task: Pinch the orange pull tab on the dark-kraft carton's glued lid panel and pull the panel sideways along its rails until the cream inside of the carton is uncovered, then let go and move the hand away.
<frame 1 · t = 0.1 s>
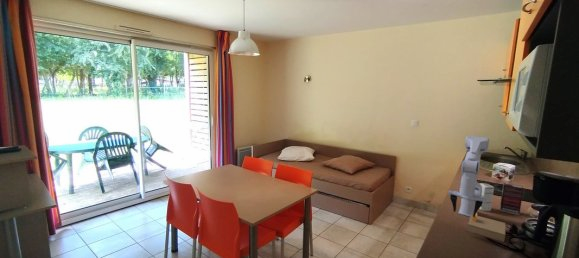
hand: (464, 213, 124), 10 cm above the kitchen counter, fingers open, 7 cm apart
supplement box: (508, 212, 151), on the kitchen counter
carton: (485, 230, 129), on the kitchen counter
syrup box: (482, 209, 154), on the kitchen counter
lid panel: (487, 221, 128), point 5 cm above the kitchen counter, slide at 0.0 cm
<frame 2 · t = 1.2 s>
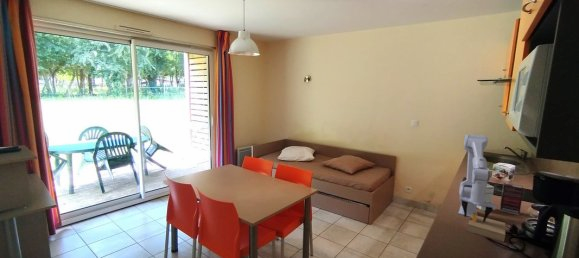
hand: (474, 218, 131), 4 cm above the kitchen counter, fingers open, 7 cm apart
nothing on the kitchen counter moved.
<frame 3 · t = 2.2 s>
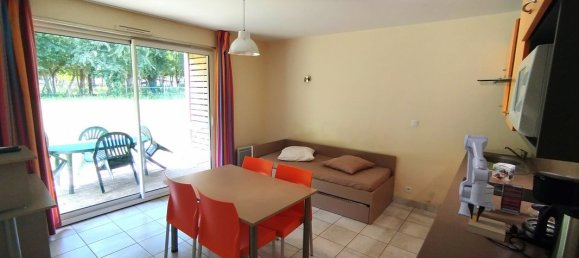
hand: (474, 219, 132), 4 cm above the kitchen counter, fingers closed on lid panel, 2 cm apart
lid panel: (487, 221, 128), point 5 cm above the kitchen counter, slide at 0.0 cm, touching gripper
everything else where it was.
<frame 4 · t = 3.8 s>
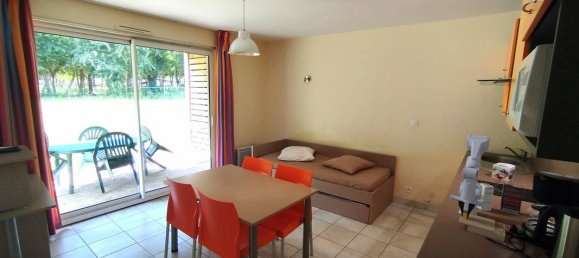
hand: (464, 216, 134), 4 cm above the kitchen counter, fingers closed on lid panel, 2 cm apart
lid panel: (477, 218, 131), point 5 cm above the kitchen counter, slide at 4.0 cm, touching gripper
everything else where it was.
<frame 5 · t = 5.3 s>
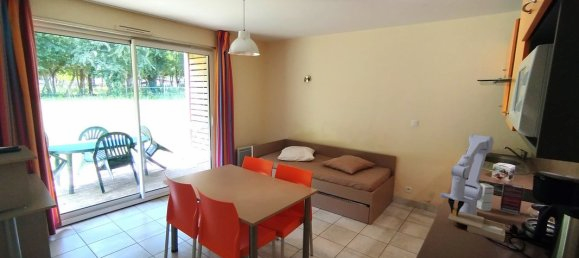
hand: (454, 213, 137), 4 cm above the kitchen counter, fingers closed on lid panel, 2 cm apart
lid panel: (466, 215, 134), point 5 cm above the kitchen counter, slide at 8.5 cm, touching gripper
everything else where it was.
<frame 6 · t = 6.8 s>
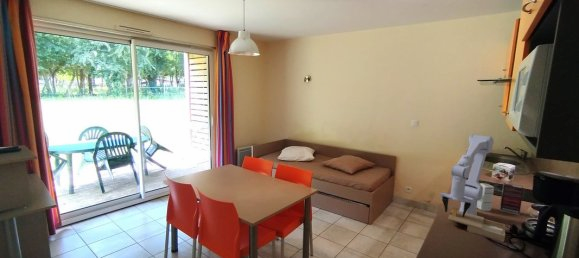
hand: (454, 213, 137), 4 cm above the kitchen counter, fingers open, 7 cm apart
lid panel: (466, 215, 134), point 5 cm above the kitchen counter, slide at 8.5 cm
everything else where it was.
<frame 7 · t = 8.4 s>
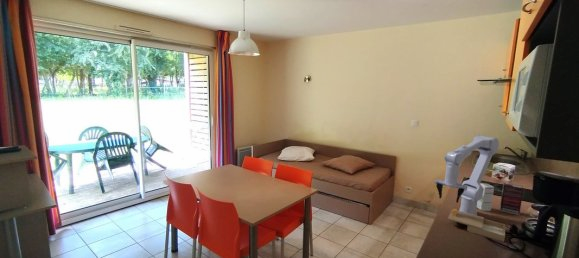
hand: (448, 199, 139), 10 cm above the kitchen counter, fingers open, 7 cm apart
nothing on the kitchen counter moved.
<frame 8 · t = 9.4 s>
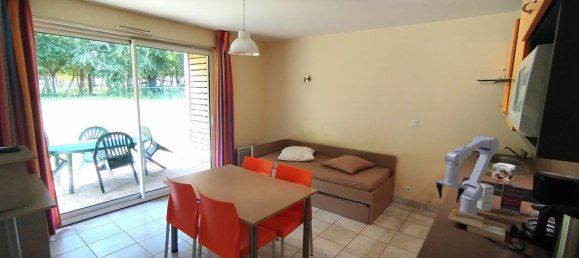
hand: (448, 199, 139), 10 cm above the kitchen counter, fingers open, 7 cm apart
nothing on the kitchen counter moved.
at the end: lid panel slide at 8.5 cm; the gripper is holding nothing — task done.
